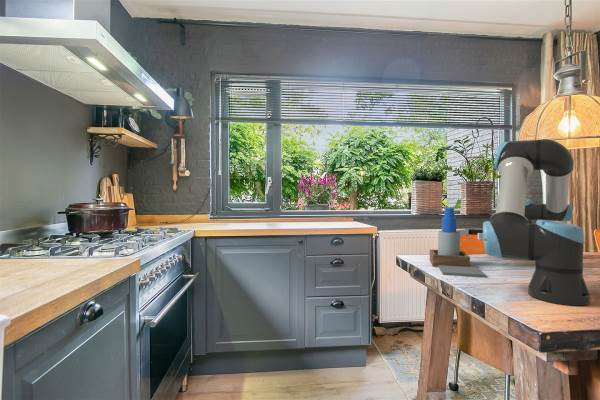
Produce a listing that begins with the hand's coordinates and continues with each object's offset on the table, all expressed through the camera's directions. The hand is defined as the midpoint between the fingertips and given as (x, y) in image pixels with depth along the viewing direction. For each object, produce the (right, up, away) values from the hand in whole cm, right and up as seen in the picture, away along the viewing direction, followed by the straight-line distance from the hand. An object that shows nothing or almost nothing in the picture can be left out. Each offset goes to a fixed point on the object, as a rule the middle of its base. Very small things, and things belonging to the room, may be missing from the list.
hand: (466, 234), depth 155 cm
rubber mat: (-10, -13, -17) cm, 24 cm away
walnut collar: (-9, -13, -2) cm, 16 cm away
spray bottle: (-9, -13, -2) cm, 16 cm away
